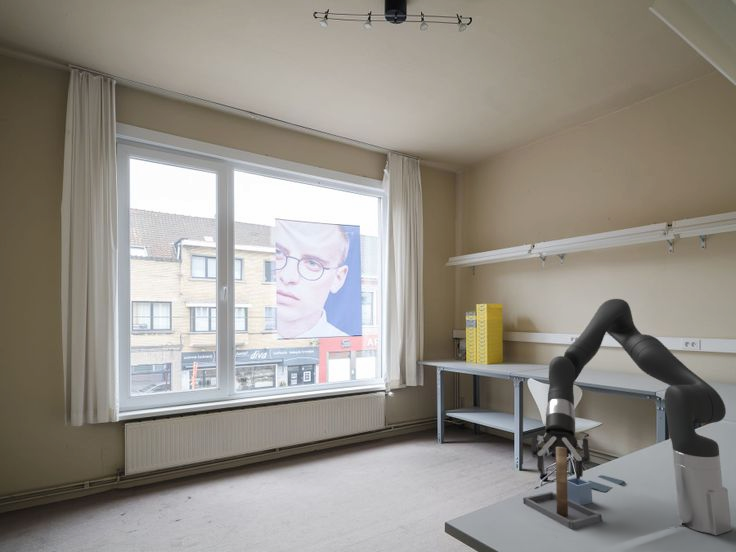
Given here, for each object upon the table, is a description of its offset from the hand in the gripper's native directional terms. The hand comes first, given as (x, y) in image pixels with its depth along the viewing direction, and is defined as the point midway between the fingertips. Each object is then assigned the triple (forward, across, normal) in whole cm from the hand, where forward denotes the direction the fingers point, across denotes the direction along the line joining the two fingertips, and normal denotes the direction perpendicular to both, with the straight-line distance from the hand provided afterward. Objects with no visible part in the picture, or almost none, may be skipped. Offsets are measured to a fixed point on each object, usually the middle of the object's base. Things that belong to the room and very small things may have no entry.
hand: (559, 474), depth 110 cm
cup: (0, -3, -15) cm, 16 cm away
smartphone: (-12, -9, -28) cm, 32 cm away
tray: (+6, 0, -9) cm, 11 cm away
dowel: (+7, 0, -7) cm, 10 cm away
